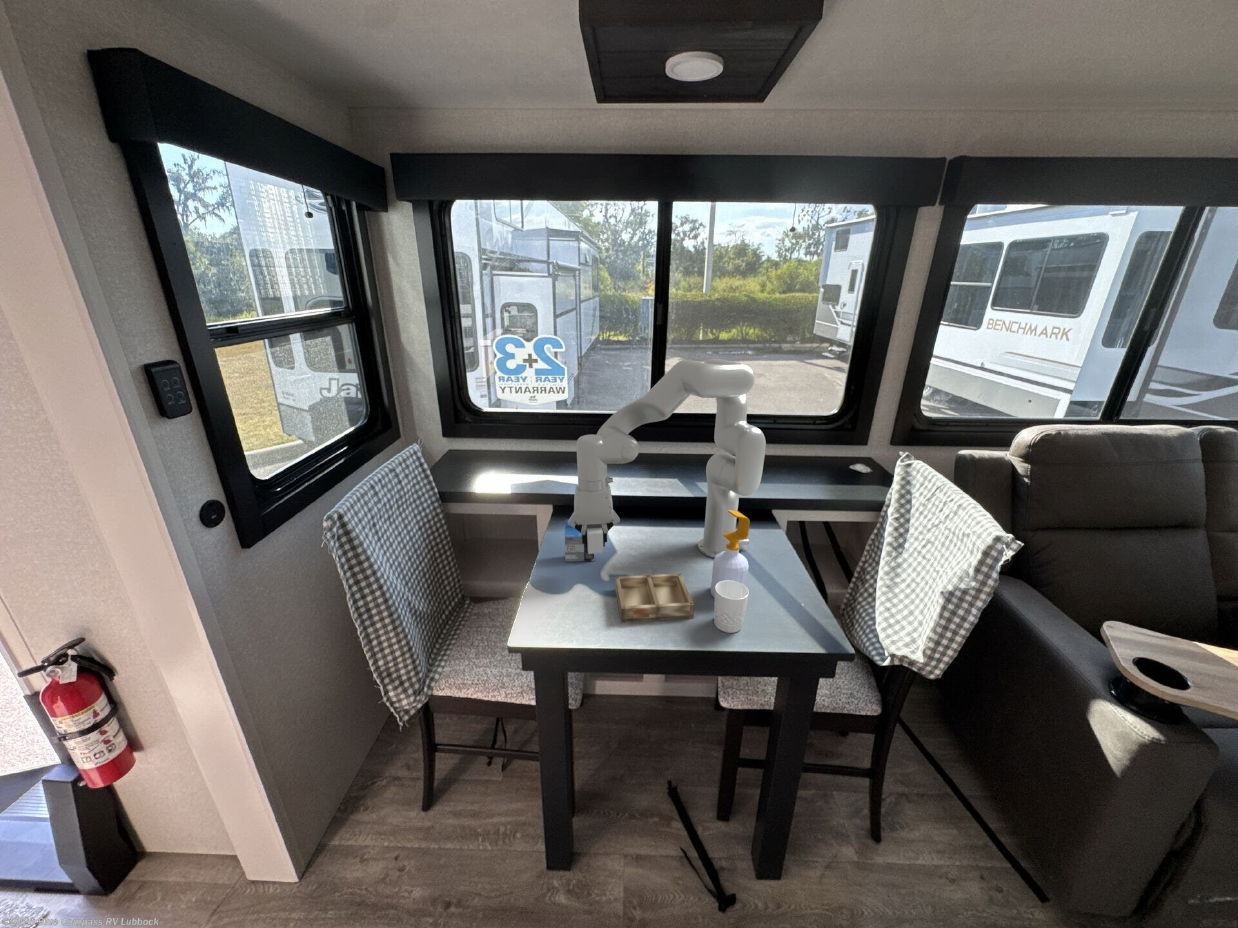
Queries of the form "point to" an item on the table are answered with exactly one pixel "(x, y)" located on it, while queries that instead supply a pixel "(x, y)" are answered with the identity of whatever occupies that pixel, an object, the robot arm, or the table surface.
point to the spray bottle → (732, 556)
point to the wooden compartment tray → (653, 598)
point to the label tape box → (575, 546)
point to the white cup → (730, 605)
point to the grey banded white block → (594, 538)
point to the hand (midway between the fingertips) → (594, 544)
